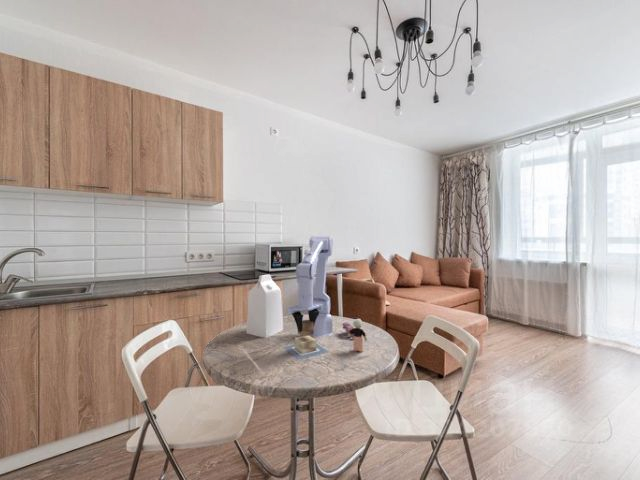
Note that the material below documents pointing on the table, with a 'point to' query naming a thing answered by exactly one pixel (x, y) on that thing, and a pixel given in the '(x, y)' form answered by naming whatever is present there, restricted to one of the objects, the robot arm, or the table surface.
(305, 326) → the walnut cube
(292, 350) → the board
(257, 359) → the table surface
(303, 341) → the maple block
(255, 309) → the milk
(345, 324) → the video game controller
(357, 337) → the grandmother figurine
